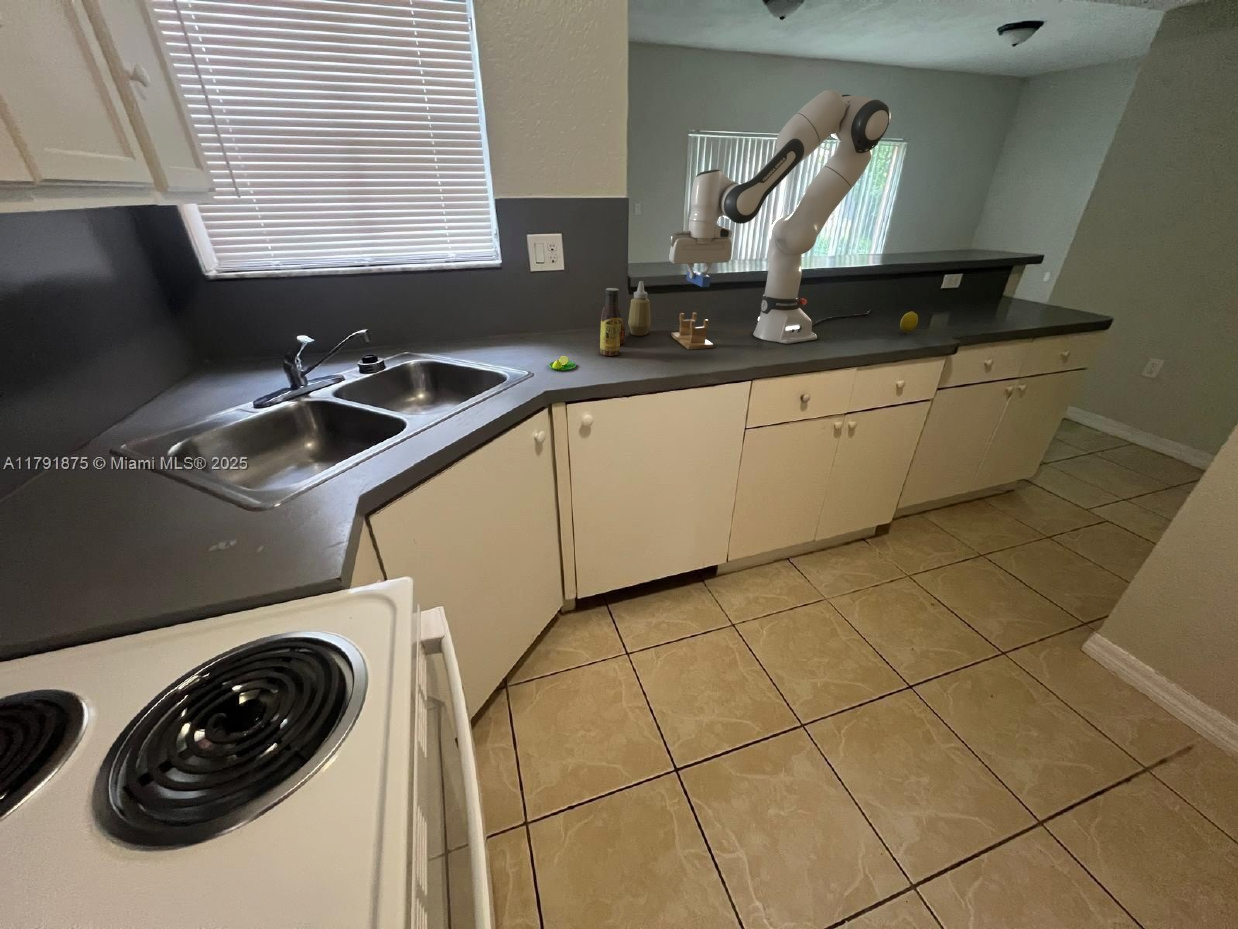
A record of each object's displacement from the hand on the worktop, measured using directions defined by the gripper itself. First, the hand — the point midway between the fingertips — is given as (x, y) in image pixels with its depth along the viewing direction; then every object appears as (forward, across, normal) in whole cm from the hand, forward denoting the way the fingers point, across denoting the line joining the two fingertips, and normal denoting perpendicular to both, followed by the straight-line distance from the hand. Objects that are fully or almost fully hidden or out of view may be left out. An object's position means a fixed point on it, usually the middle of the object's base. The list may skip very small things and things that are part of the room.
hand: (698, 277), depth 157 cm
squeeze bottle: (+21, -15, +14) cm, 29 cm away
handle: (+2, 0, 0) cm, 2 cm away
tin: (+21, -26, +7) cm, 34 cm away
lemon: (+21, +85, -8) cm, 88 cm away
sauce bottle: (+21, -31, -6) cm, 38 cm away
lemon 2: (+21, -48, -14) cm, 55 cm away
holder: (+21, 0, 0) cm, 21 cm away
